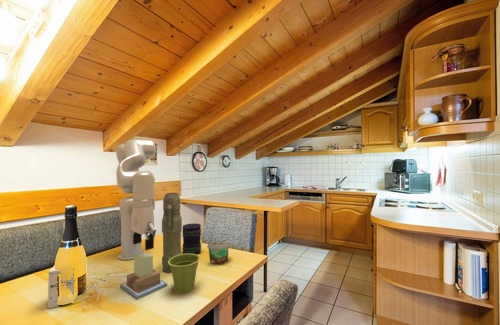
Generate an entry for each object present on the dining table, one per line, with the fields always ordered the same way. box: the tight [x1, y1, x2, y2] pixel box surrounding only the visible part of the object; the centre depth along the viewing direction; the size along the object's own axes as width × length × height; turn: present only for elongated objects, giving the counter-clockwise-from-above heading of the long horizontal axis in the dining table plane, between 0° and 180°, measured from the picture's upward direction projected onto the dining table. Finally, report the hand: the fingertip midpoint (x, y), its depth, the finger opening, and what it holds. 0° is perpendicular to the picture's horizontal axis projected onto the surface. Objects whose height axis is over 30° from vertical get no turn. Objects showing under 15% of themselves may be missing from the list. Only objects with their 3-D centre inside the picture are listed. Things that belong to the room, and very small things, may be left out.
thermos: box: [161, 192, 183, 274], centre depth 107 cm, size 9×12×35 cm
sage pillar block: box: [133, 252, 154, 278], centre depth 91 cm, size 5×5×7 cm
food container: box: [206, 237, 231, 266], centre depth 113 cm, size 12×6×10 cm, turn 131°
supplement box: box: [47, 264, 75, 309], centre depth 82 cm, size 7×7×13 cm
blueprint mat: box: [119, 279, 168, 301], centre depth 91 cm, size 14×12×1 cm
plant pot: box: [168, 253, 201, 294], centre depth 89 cm, size 12×12×11 cm
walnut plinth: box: [126, 268, 161, 293], centre depth 91 cm, size 9×9×4 cm
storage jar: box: [181, 223, 202, 256], centre depth 126 cm, size 10×10×15 cm
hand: (143, 246), depth 92 cm, fingers open, 9 cm apart
